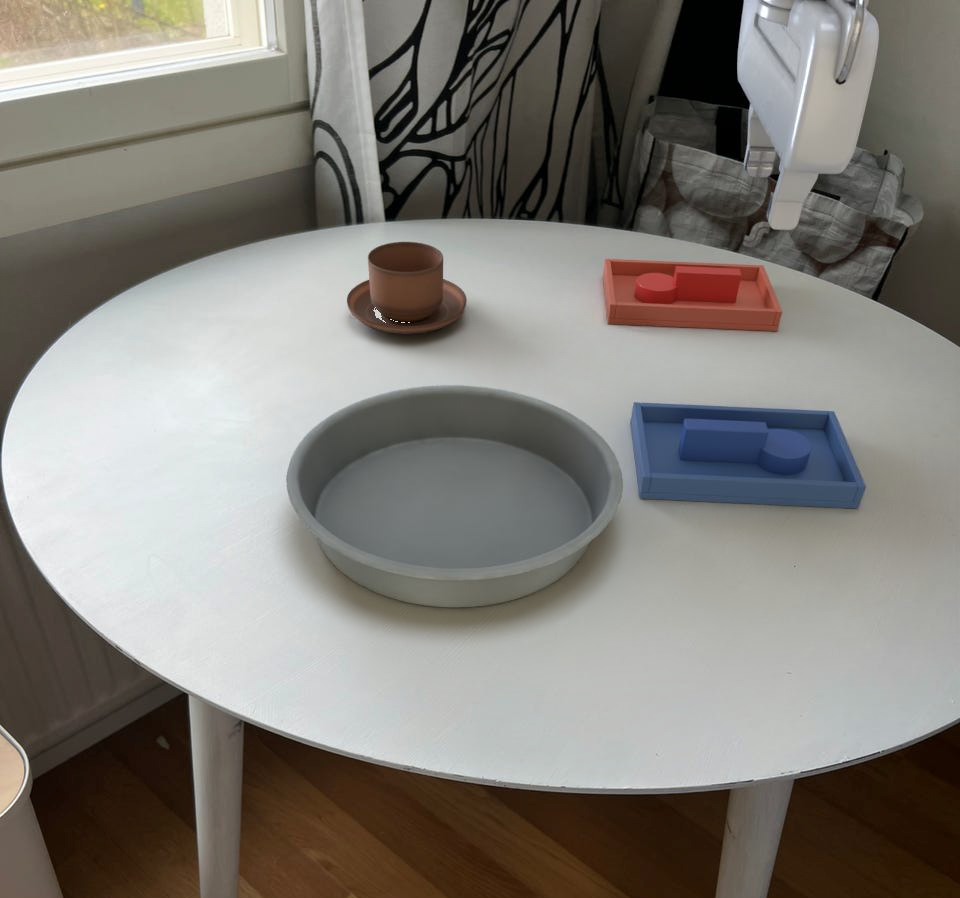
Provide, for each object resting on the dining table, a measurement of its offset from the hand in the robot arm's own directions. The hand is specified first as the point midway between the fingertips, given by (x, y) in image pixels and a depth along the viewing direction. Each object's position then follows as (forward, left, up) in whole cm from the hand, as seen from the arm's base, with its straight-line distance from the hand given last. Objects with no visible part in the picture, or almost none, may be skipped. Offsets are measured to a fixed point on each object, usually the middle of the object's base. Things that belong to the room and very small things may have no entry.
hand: (767, 198), depth 64 cm
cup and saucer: (+27, -24, -21) cm, 42 cm away
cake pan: (+20, +9, -21) cm, 31 cm away
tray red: (-2, -30, -21) cm, 37 cm away
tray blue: (-3, 0, -21) cm, 21 cm away
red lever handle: (-2, -30, -20) cm, 36 cm away
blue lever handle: (-3, 0, -20) cm, 21 cm away
